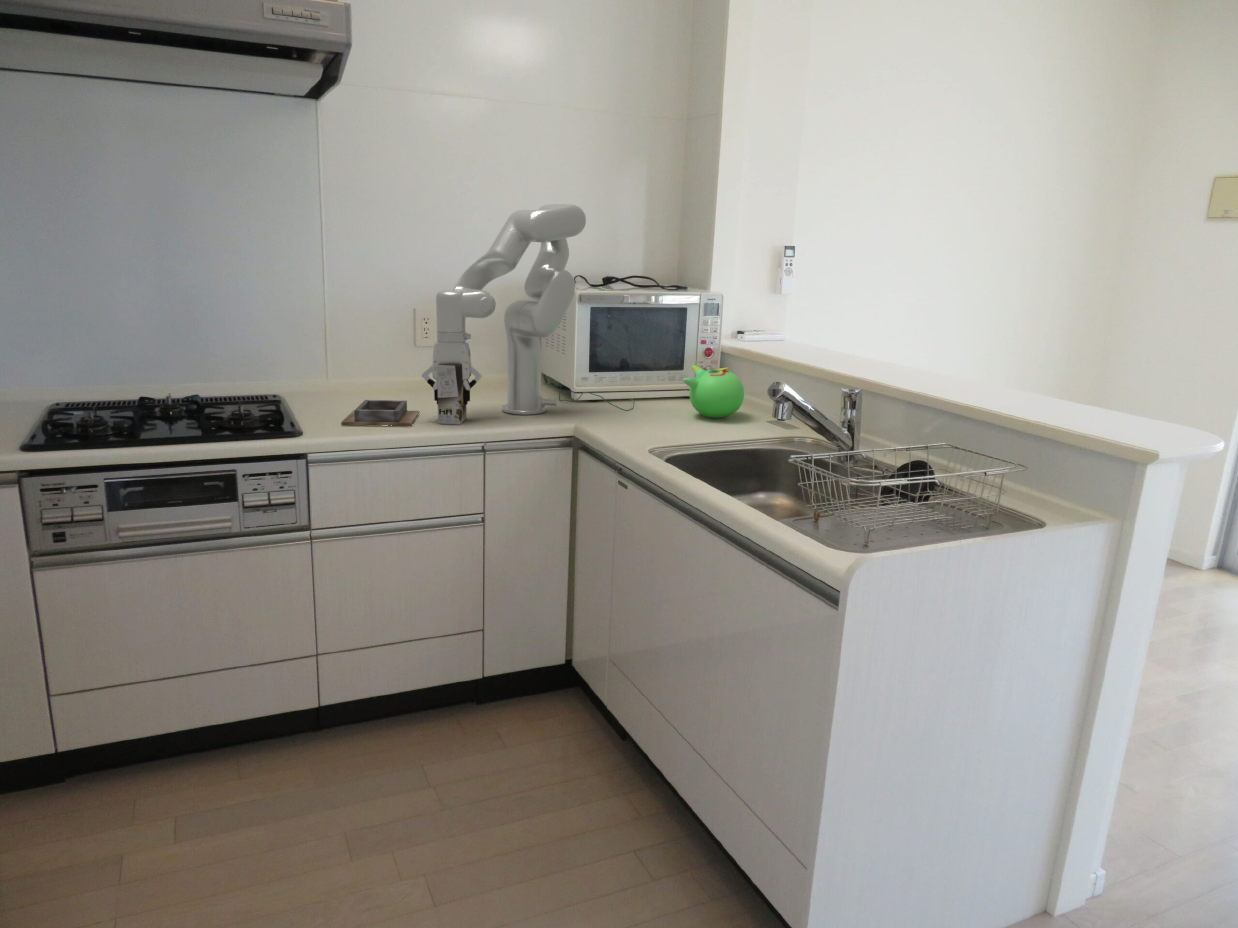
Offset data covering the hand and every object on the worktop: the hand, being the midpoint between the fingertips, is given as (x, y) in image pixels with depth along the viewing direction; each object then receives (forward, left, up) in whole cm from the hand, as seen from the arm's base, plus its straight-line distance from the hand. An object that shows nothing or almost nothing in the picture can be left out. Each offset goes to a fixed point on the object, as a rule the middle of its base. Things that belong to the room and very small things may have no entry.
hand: (452, 403), depth 244 cm
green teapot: (-74, -11, -5) cm, 75 cm away
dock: (+19, 0, -5) cm, 20 cm away
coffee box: (0, 0, -5) cm, 5 cm away
